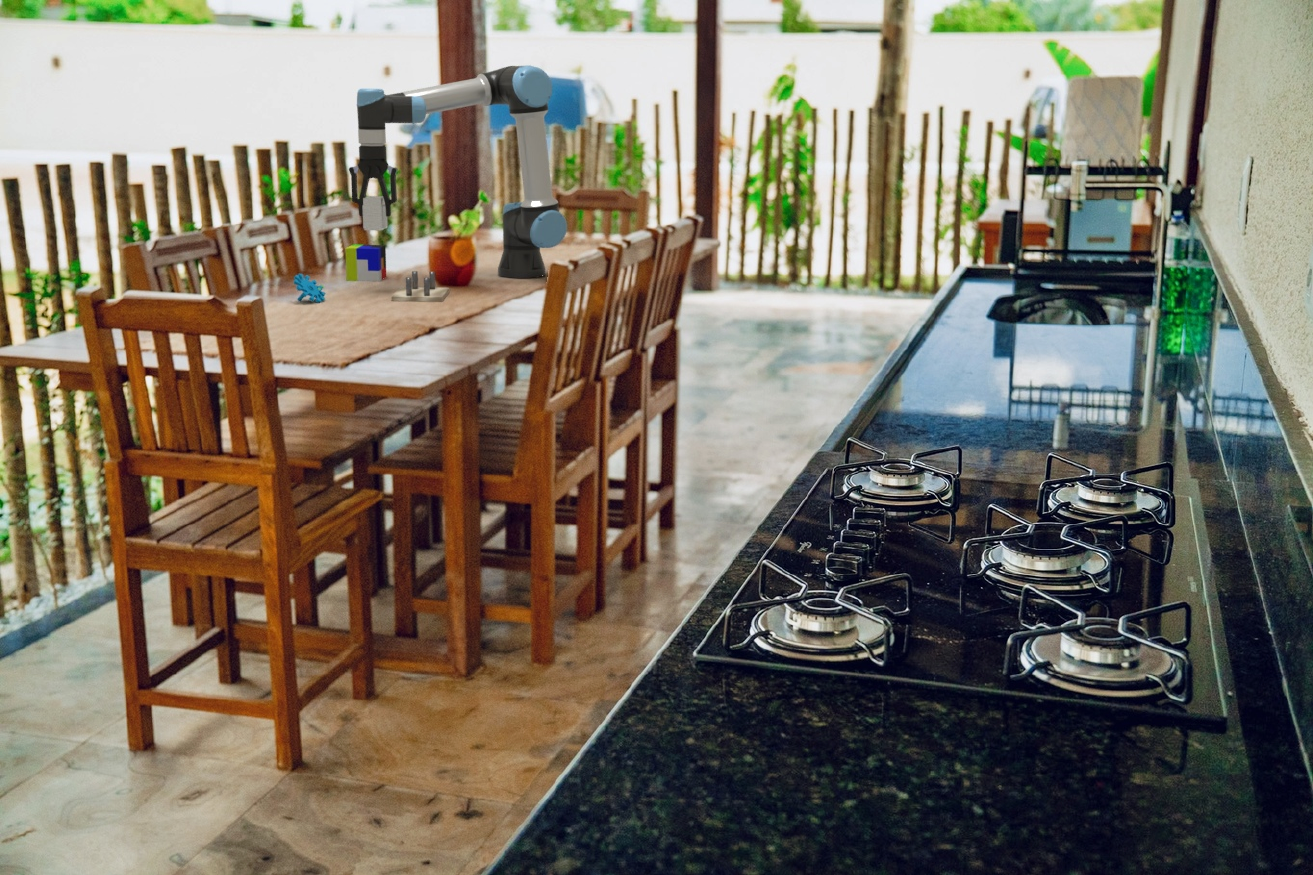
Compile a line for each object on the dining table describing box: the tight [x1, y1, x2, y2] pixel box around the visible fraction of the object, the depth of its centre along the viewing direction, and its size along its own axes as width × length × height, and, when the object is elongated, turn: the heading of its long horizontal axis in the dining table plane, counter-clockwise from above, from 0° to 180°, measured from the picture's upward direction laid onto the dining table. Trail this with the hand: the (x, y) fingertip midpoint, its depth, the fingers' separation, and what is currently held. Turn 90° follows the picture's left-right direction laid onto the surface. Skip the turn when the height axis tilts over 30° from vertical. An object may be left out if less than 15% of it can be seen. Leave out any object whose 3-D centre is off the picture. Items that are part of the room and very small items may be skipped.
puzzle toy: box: [344, 243, 387, 282], centre depth 407 cm, size 10×10×10 cm
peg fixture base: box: [390, 270, 450, 303], centre depth 376 cm, size 14×18×6 cm
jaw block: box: [363, 195, 385, 231], centre depth 378 cm, size 5×7×9 cm
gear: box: [292, 273, 326, 304], centre depth 365 cm, size 11×6×10 cm
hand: (375, 227), depth 379 cm, fingers closed on jaw block, 5 cm apart
